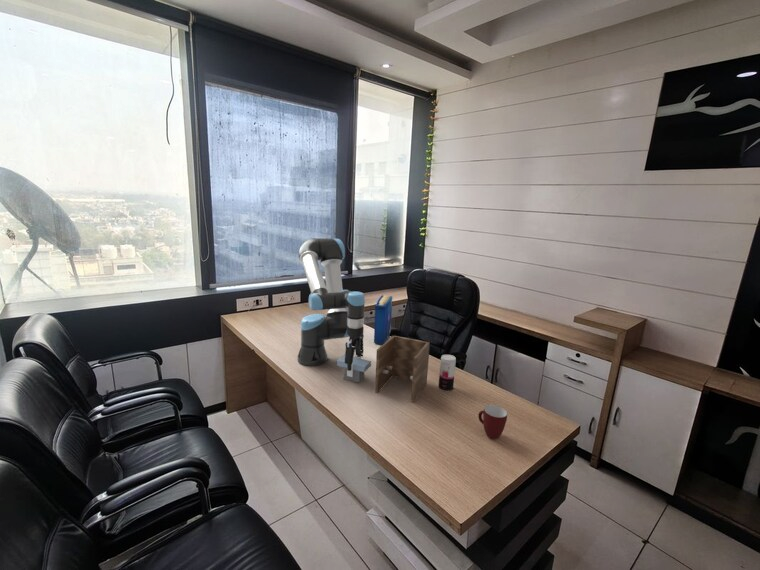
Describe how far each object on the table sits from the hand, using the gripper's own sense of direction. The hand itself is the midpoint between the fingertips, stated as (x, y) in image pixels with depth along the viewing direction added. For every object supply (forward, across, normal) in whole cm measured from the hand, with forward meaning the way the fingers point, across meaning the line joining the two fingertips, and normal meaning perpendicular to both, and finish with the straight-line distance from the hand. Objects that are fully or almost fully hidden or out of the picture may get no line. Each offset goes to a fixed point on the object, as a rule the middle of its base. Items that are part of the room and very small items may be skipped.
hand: (353, 372), depth 167 cm
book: (+3, +53, +8) cm, 53 cm away
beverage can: (+3, +11, -41) cm, 43 cm away
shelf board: (-3, 0, 0) cm, 3 cm away
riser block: (+3, 0, 0) cm, 3 cm away
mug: (+3, -15, -63) cm, 65 cm away
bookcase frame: (+3, +2, -23) cm, 23 cm away
